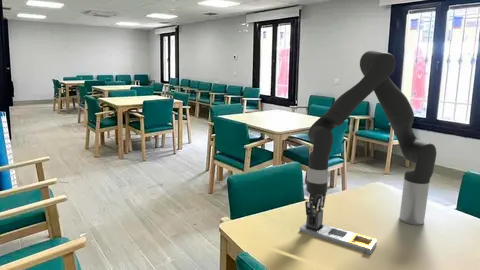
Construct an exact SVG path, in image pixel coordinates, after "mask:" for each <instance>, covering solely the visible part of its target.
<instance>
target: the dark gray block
mask: <svg viewBox="0 0 480 270" xmlns="http://www.w3.org/2000/svg"><path fill="white" fill-rule="evenodd" d="M313 207H314V206H313ZM314 208H315V207H314ZM313 212H314V210H313ZM323 218H324V209H323V208H322V209H318V210H317V211H316V215H315V225H314V226H312V225H309V216H308V215H306V222H305V223H306V228H308V229H312V230H315V231H319V230H320V229H321V228H322V224H323Z"/></svg>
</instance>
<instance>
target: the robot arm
mask: <svg viewBox="0 0 480 270" xmlns="http://www.w3.org/2000/svg"><path fill="white" fill-rule="evenodd" d="M396 65H397V62H396V58H395V56H394V55H393V54H392V53H389V52H386V51H379V50H368V51H365V52H364V53H363V54H362V55H361V57H360V59H359V68H360V71H361V73H362V76H363V77H362V79H360V80H359V81H358V83H356V84H355V85H353V86H352V87H351V88H350V89H347V90H346V91H344V93H342V94H341V95H340V96H339V97H338V98H337V99H335V101H333V102H332V105H331V106H330V107H329V109H328V110H327V111H326V112H325V113H324V114H322V115H321V116H320V117H319V118H318V119H317V120H316V121H315V122H313V124H312V125H311V126H310V127H309V129H308V133H307V137H308V140H309V141H311V143H313V144H312V145H313V146H312V151H310V153H309V155H308V165H307V166H308V167H307V174H306V187H305V189H306V190H305V191H306V192H307V193H308V194H309V197H308V200H307V201H305V203H304V205H305V215H306V216H307V215H308V216H309V225H312V226H314V225H315V215H316V211H317V210H318V209H322V210H323V209H324V208H325V202H326V196H327V192H328V184H329V160H330V159H329V157H330V154H331V151H332V149H333V148H332V147H333V143H334V134H333V132H332V131H333V130H334V128H337V127H341V126H342V125H343V124H344V123H345V122H346V121H347V120H348V118H349V117H350V115H351V114H352V113H353V112H355V110H356V108H357V107H358V106H359V105H360V104H361V103H362V102H363V101H364V100H366V99H367V98H368V96H370V95H371V93H373V92H374V94H375V97H376V98H377V100H378V103H379V104H380V106H381V108H382V110H383V114H385V116H386V119H387V121H388V122H389V124H390V127H391V129H392V130H393V133H394V134H395V136H396V139H397V142H398V145H399V148H400V150H401V153H402V156H403V158H404V159H405V160H406V161H408V162H411V163H412V164H415V167H414V169H409V170H406V171H405V173H404V175H403V176H404V177H403V184H402V185H403V186H402V193H401V194H402V195H401V201H400V209H399V217H398V218H399V220H400V221H402V222H404V223H407V224H409V225H414V226H415V225H416V226H418V225H423V224H425V218H426V213H427V212H426V210H427V203H428V195H429V188H430V182H431V178H432V176H433V173H434V168H435V165H436V164H435V163H436V158H437V147H436V146H435V145H434V144H433V143H431V142H427V141H424V140H419V138H417V137H416V135H415V133H414V131H413V128H412V127H413V124H414V119H415V118H414V117H415V113H414V110H413V107H412V106H411V104H410V101H409V100H408V98H407V96H406V95H405V94H404V93H403V92H402V91H401V90H400V88H399V87H397V85H396V84H395V83H394V82H393V80H392V79H391V78H390V76H391V75H392V74H394V73H393V72H394V71H395V69H396ZM314 207H315V208H314ZM313 210H314V212H313Z"/></svg>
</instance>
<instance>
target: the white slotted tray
mask: <svg viewBox="0 0 480 270" xmlns="http://www.w3.org/2000/svg"><path fill="white" fill-rule="evenodd" d="M299 232H300V233H303V234H308V235H310V236H314V237H317V238H320V239H323V240H327V241H330V242H333V243H336V244H339V245H342V246H345V247H349V248H352V249H355V250H358V251H361V252H363V254H366V255H368V256H369V255H371V254H372V252H373V251H374V250H375V248H376V247H377V244H378V239H377V238H373V237H370V236H367V235H363V234H360V233H355V232H353V231H348V230H345V229H341V228H338V227H334V226H330V225H329V224H328V225H327V224H326V223H322V228H321V229H320V230H319V231H315V230H312V229H308V228H306V222H304V223H303V224H302V225H301V226H300V227H299Z"/></svg>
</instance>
